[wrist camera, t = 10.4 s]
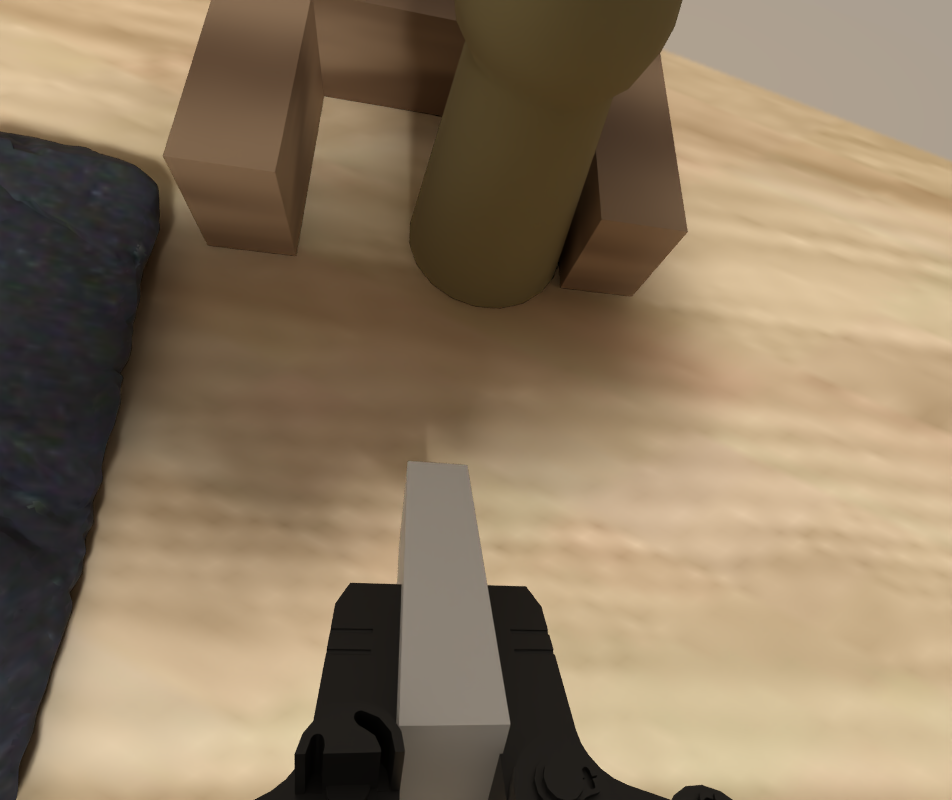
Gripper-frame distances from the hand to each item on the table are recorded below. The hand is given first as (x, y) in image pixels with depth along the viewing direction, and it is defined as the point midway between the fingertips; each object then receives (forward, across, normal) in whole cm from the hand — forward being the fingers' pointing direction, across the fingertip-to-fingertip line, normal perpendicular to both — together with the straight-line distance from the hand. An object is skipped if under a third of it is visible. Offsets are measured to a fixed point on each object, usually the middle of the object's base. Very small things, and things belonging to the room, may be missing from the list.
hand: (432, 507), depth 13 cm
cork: (+10, +2, +6) cm, 12 cm away
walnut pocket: (+13, 0, +8) cm, 15 cm away
